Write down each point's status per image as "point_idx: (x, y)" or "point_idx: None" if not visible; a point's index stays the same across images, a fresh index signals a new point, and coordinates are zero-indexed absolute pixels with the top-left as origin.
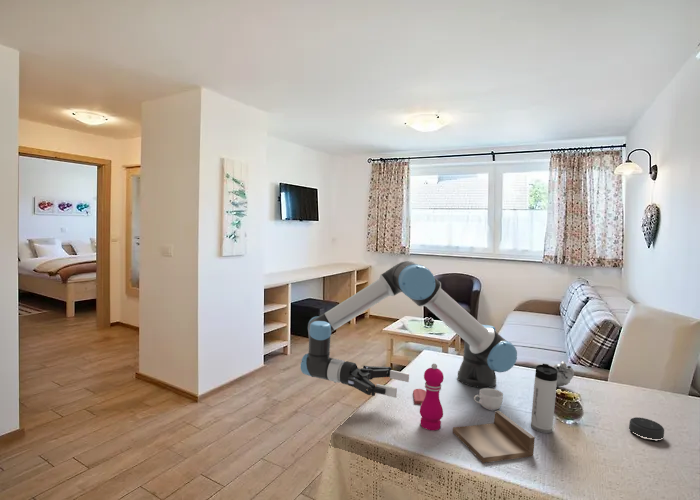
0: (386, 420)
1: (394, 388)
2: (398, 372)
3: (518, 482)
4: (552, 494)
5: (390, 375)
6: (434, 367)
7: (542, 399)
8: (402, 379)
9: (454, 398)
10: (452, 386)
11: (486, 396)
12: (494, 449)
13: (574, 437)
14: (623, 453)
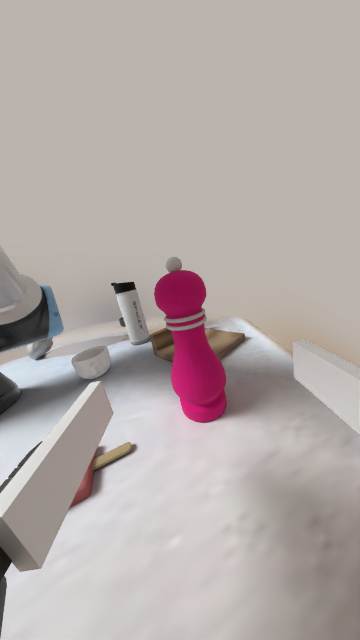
0: (296, 549)
1: (307, 343)
2: (66, 428)
3: (247, 325)
4: (240, 318)
5: (33, 540)
6: (181, 263)
7: (140, 309)
8: (98, 432)
9: (58, 417)
10: None
11: (103, 353)
12: (218, 335)
13: (148, 331)
14: (159, 321)
